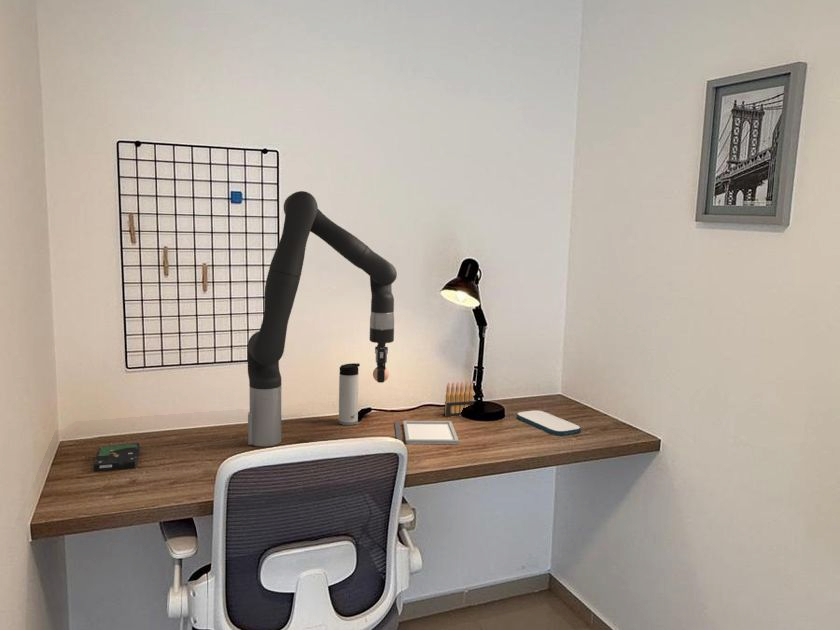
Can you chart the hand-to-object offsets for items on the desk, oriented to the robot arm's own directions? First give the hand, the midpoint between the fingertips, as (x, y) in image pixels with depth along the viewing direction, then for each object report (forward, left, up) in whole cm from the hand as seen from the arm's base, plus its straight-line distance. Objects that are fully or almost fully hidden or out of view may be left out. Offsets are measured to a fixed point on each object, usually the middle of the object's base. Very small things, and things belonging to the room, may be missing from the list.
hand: (380, 379), depth 208 cm
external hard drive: (+57, +11, -18) cm, 61 cm away
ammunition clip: (+28, +21, -18) cm, 39 cm away
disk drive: (-71, -25, -18) cm, 77 cm away
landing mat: (+15, 0, -17) cm, 23 cm away
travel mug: (-10, +11, -18) cm, 23 cm away
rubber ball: (0, 0, -1) cm, 1 cm away
